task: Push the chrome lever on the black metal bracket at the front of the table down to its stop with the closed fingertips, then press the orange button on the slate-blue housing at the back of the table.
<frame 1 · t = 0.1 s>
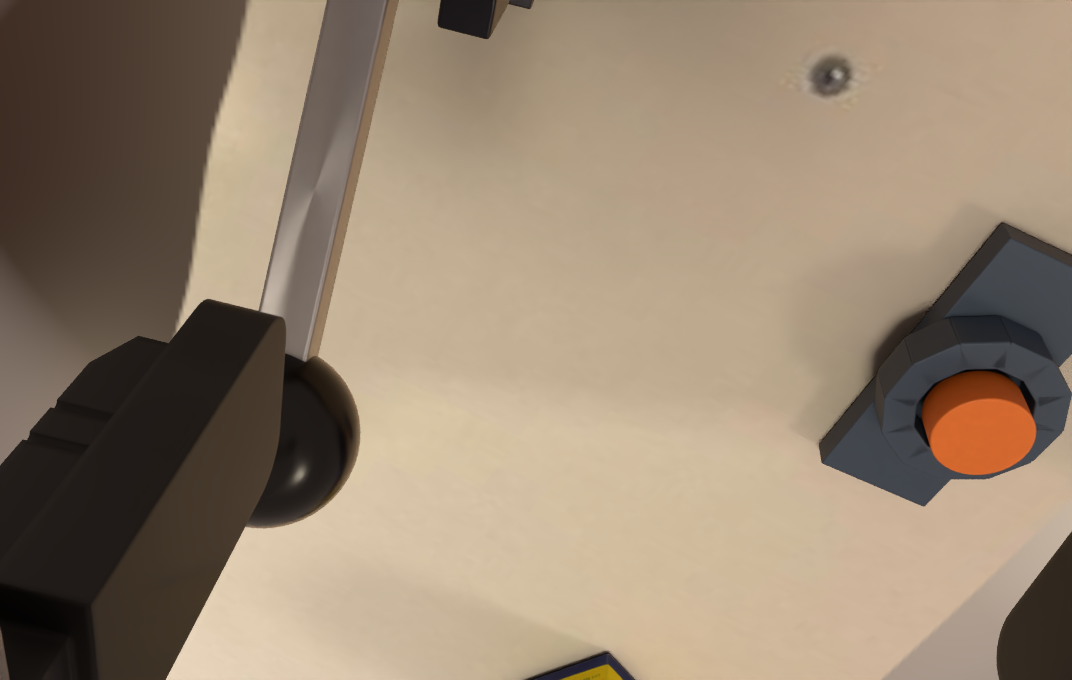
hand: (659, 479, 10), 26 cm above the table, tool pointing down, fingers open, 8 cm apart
lever: (326, 166, 19), point 17 cm above the table, hinge at 30.0°
button: (977, 423, 36), point 3 cm above the table, slide at 0.1 cm
button box: (956, 367, 39), on the table
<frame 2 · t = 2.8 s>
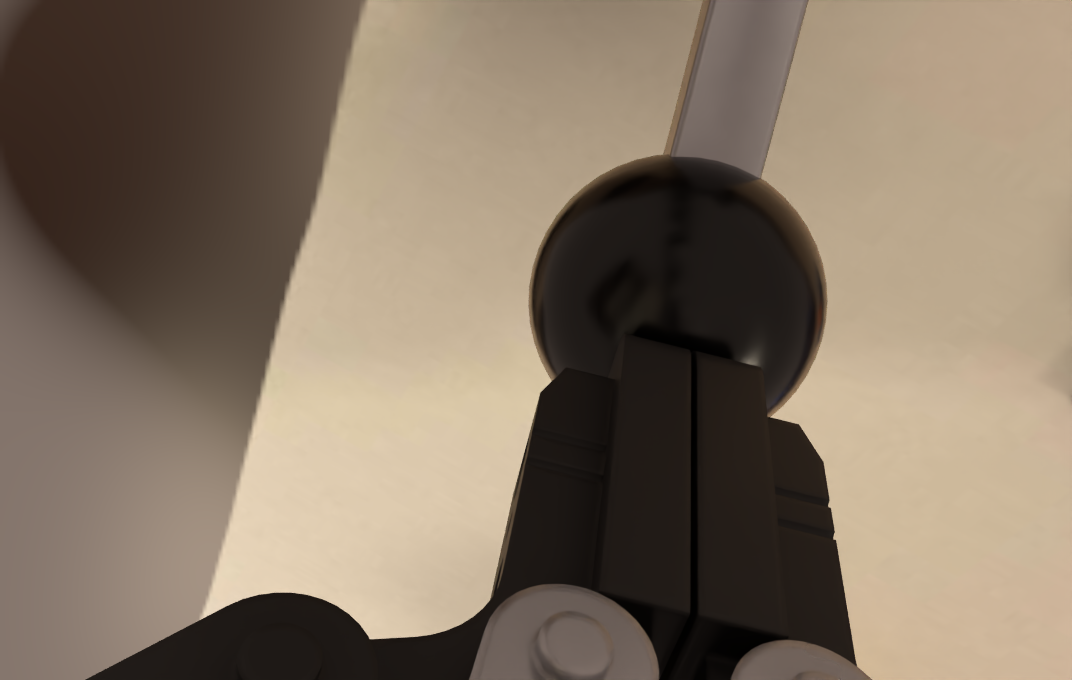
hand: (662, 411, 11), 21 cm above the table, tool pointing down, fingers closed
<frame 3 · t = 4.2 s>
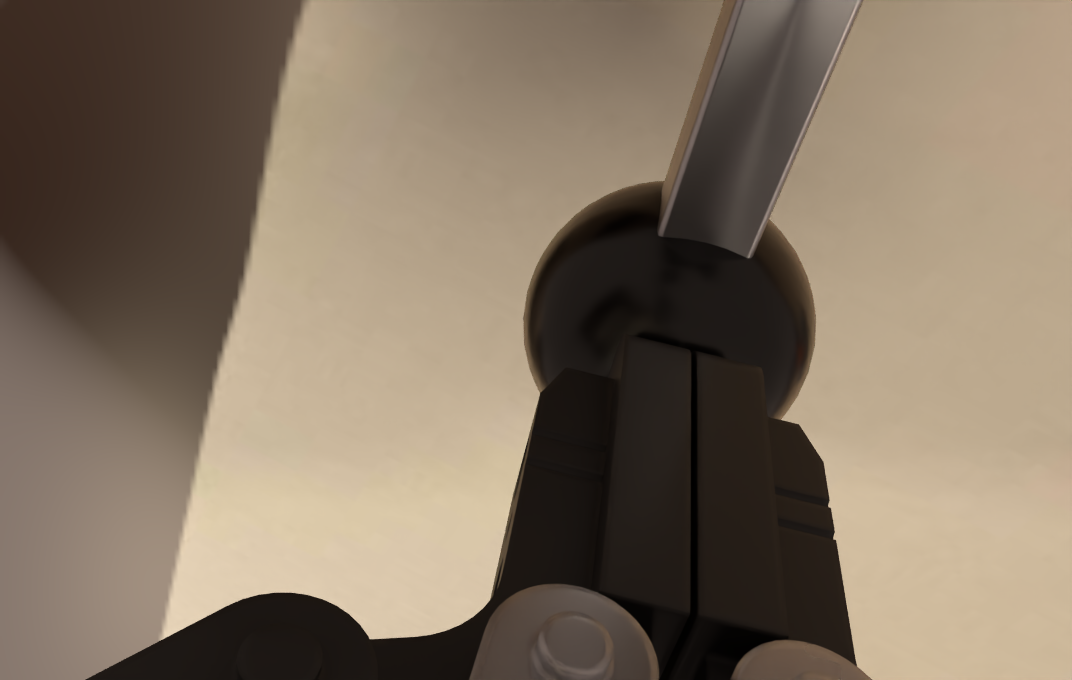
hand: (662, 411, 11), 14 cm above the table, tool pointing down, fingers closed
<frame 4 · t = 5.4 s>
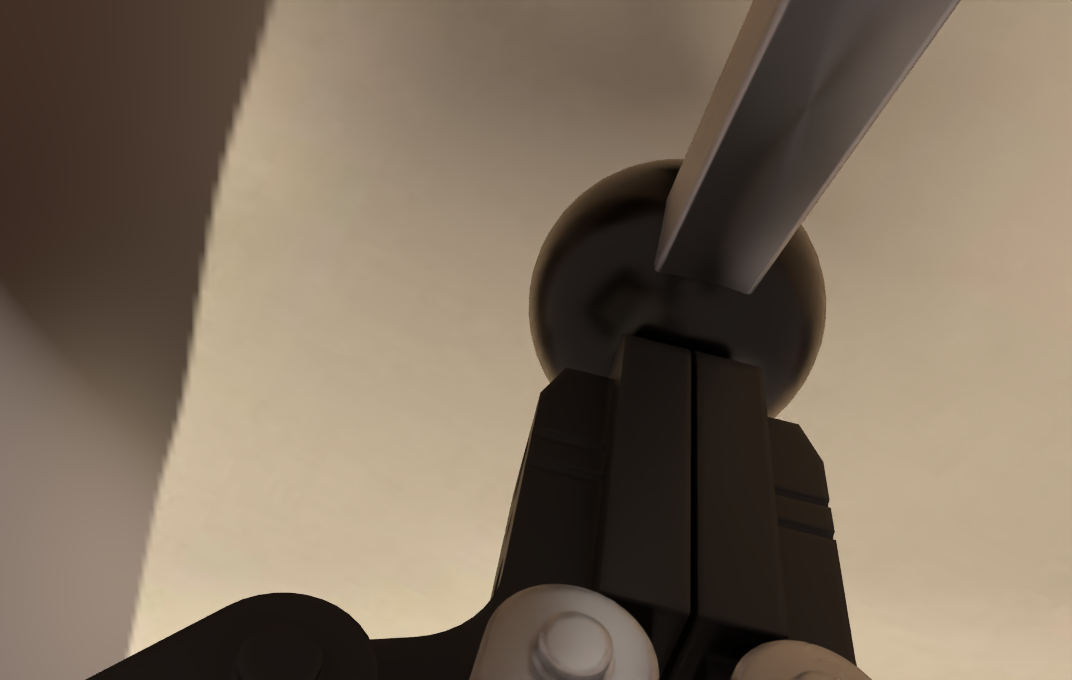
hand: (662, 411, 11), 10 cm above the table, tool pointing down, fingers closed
lever: (840, 9, 7), point 11 cm above the table, hinge at -31.0°, touching gripper
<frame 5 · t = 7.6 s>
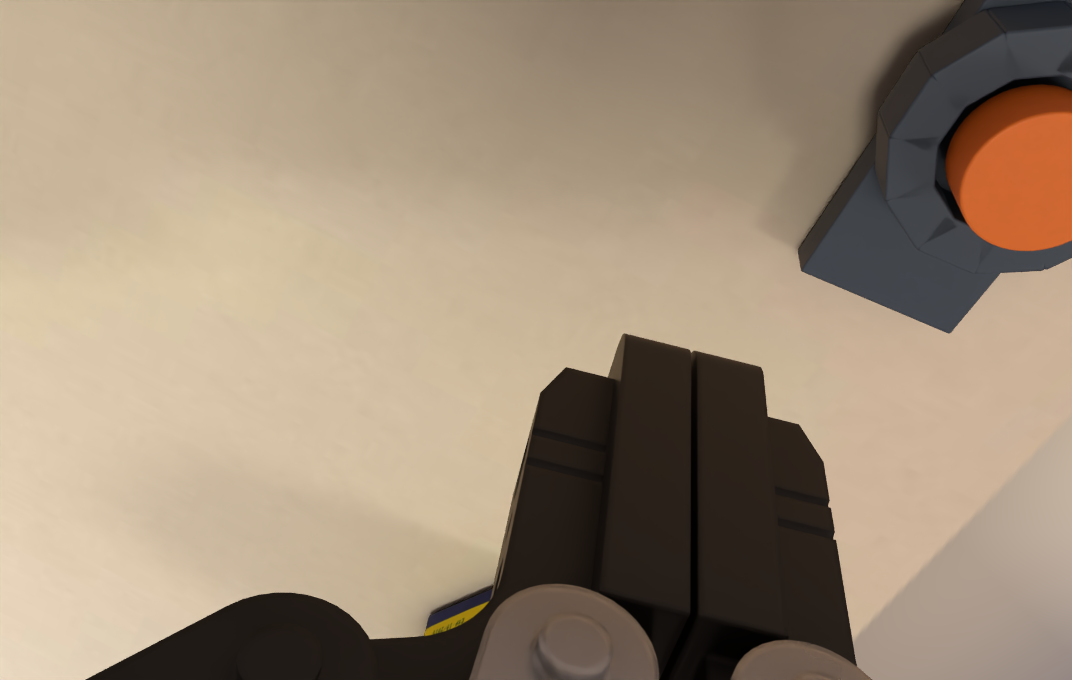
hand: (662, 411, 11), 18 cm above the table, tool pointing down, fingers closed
button: (1031, 168, 24), point 3 cm above the table, slide at 0.1 cm
supplement box: (523, 627, 42), on the table
button box: (995, 112, 26), on the table
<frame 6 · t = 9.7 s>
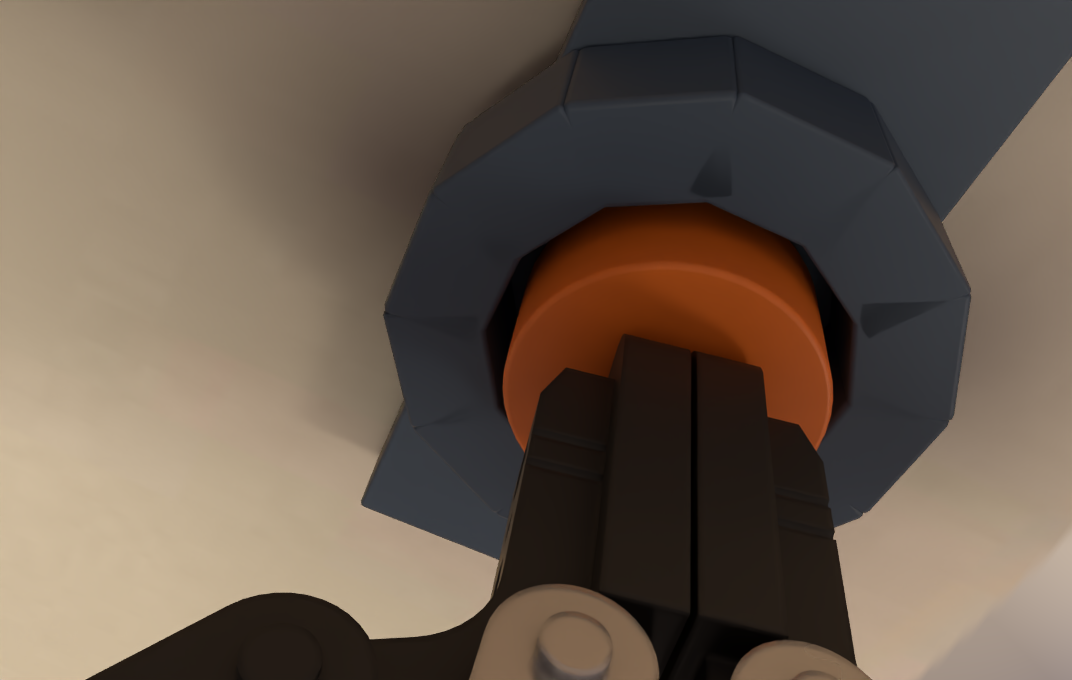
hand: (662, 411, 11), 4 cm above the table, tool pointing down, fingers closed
button: (665, 359, 11), point 3 cm above the table, slide at -0.5 cm, touching gripper
button box: (670, 242, 14), on the table
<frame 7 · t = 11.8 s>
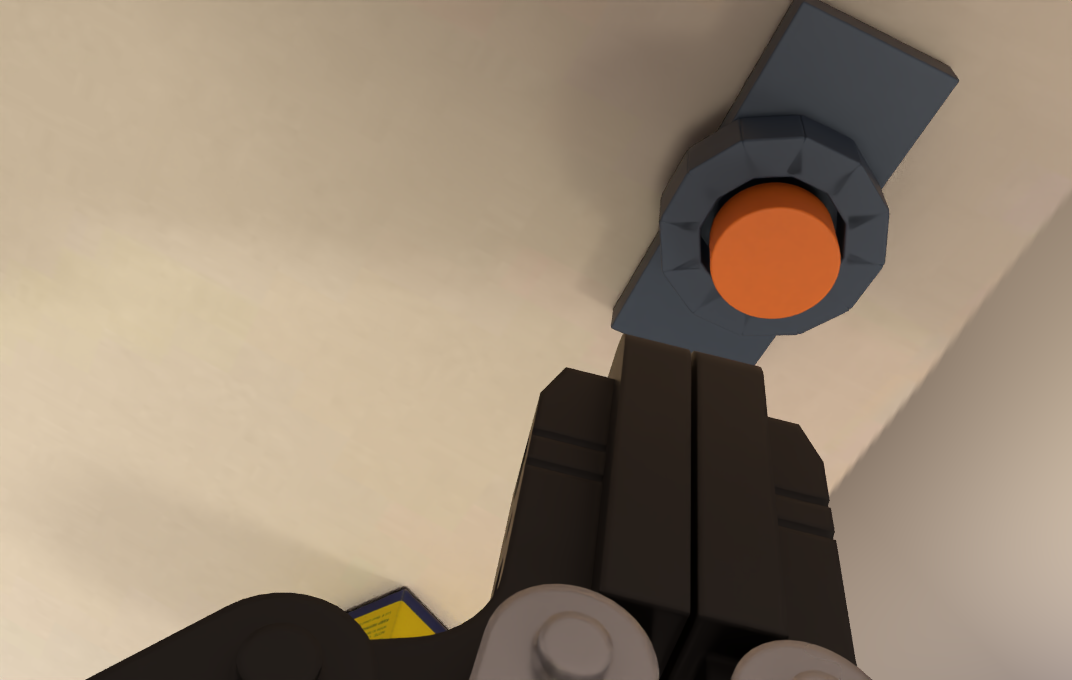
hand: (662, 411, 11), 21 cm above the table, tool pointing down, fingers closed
button: (772, 251, 28), point 3 cm above the table, slide at 0.1 cm
supplement box: (399, 641, 46), on the table
button box: (765, 200, 31), on the table
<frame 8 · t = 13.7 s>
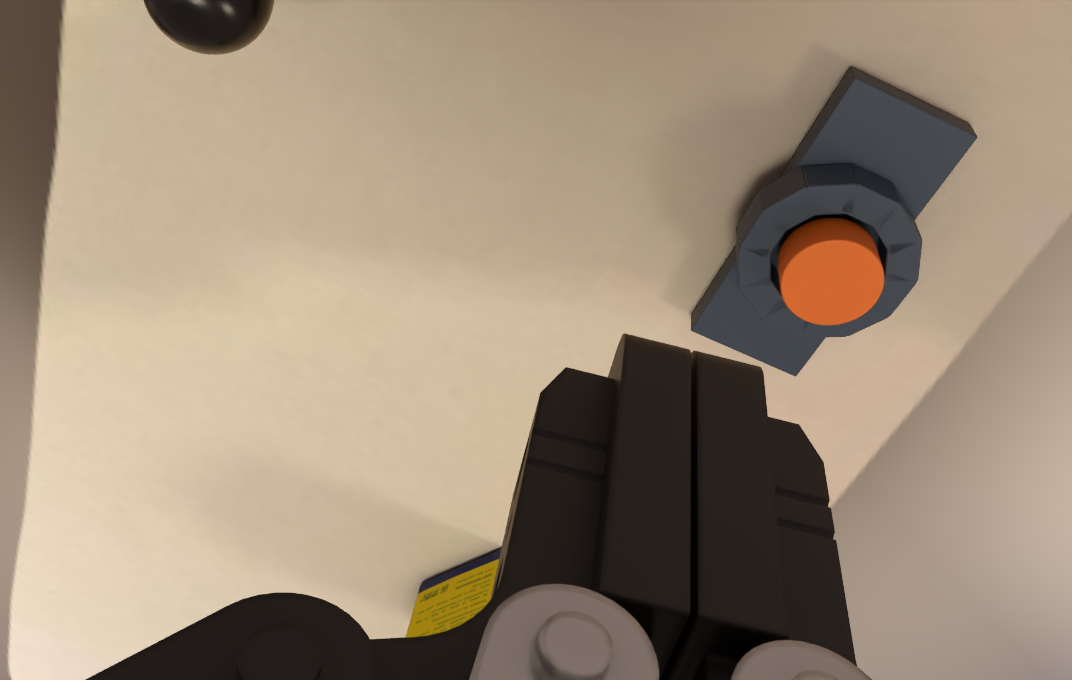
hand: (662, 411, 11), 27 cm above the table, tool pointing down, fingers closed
button: (829, 271, 36), point 3 cm above the table, slide at 0.1 cm
supplement box: (494, 594, 54), on the table
button box: (819, 227, 39), on the table
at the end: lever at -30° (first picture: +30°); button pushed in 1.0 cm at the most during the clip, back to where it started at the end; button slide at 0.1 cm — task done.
